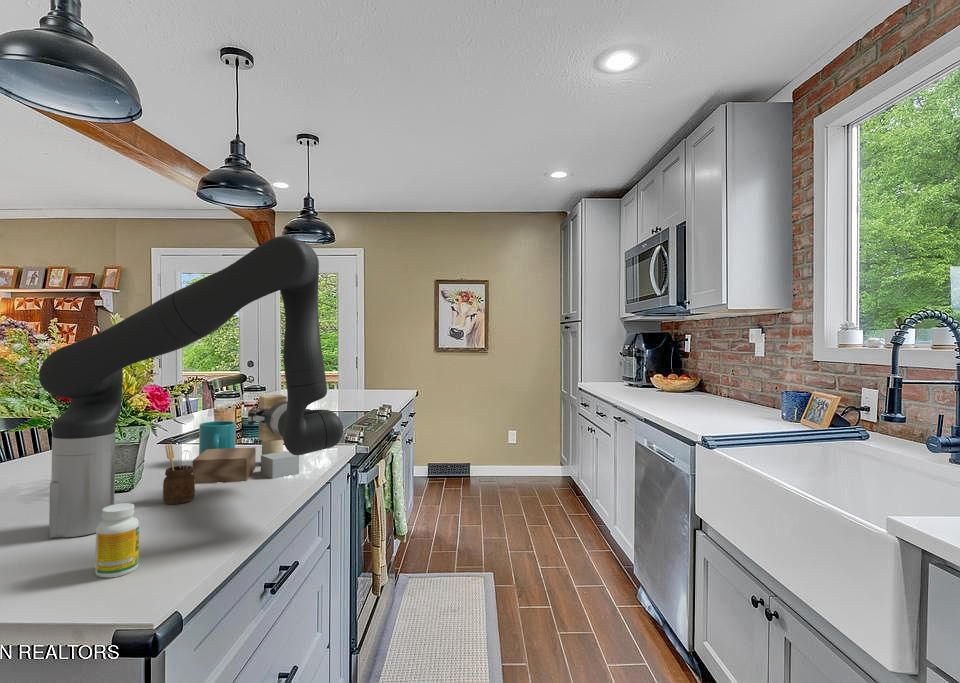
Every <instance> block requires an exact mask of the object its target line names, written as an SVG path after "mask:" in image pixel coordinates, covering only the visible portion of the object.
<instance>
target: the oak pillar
mask: <svg viewBox="0 0 960 683" xmlns="http://www.w3.org/2000/svg"><path fill="white" fill-rule="evenodd" d="M258 396H259V397H258V408H260V409H263V408H271V407H272V406H273V405H275V404H277V403H279V402H283V401H287V396H286V395H283V394H272V395H270V394H269V395H267V394H265V395H258ZM258 439H259V440H261V442H262V441H263V442H264V441H276V440H283V439H282V438H280V437H279V436H277V435H275V434H274V433H272V432H271V431H270V430H269V429H268V427H267V425H266V424H262V422H261V421H258Z"/></svg>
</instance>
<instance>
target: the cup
mask: <svg viewBox="0 0 960 683" xmlns="http://www.w3.org/2000/svg"><path fill="white" fill-rule="evenodd" d="M236 426H237V424H236V422H235V421H231V420H218V421H207V422H201V423H200V424H199V428H198V429H199V432H198V436H199V437H198V456H199V455H200V454H201V453H203V452H204V451H205V450H206V449H225V448H236V428H237V427H236Z"/></svg>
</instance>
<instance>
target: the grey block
mask: <svg viewBox="0 0 960 683" xmlns="http://www.w3.org/2000/svg"><path fill="white" fill-rule="evenodd" d="M299 474H300V455H293V454H291V453H290V452H289V451H288V450H287V451H285V450H284V451H283V452H278V453H272V454H265V455H262V454H260V475H263V476H265V477H267V478H269V479H279V477H280V478H285V477H290V476H289V475H291V476H296V475H299ZM284 476H285V477H284Z"/></svg>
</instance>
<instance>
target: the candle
mask: <svg viewBox="0 0 960 683" xmlns="http://www.w3.org/2000/svg"><path fill="white" fill-rule="evenodd" d="M278 452H284V441H283V440H276V441H264V442H263V441H262V440H261V455H265V454H272V453H278Z"/></svg>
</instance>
